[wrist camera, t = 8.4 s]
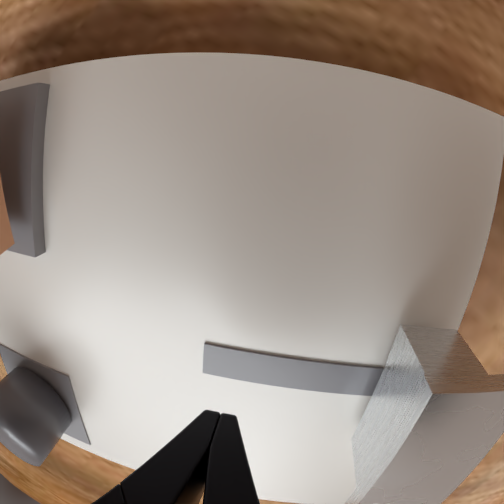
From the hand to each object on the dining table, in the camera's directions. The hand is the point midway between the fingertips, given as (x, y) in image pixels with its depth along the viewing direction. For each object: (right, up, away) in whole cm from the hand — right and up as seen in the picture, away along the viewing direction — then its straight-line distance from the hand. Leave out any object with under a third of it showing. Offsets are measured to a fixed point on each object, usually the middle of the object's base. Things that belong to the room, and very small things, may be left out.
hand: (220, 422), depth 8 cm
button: (-10, -3, +5) cm, 11 cm away
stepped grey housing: (+6, 0, +2) cm, 6 cm away
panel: (-2, +2, +4) cm, 5 cm away
